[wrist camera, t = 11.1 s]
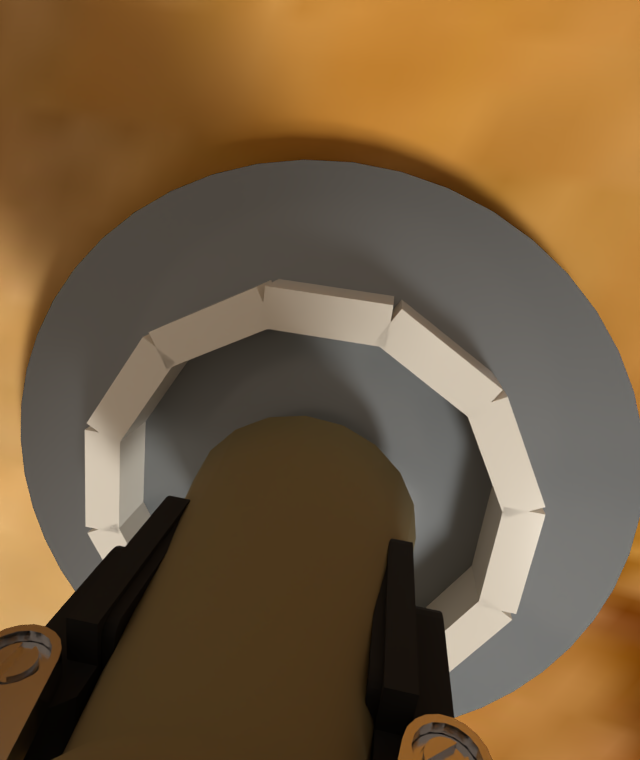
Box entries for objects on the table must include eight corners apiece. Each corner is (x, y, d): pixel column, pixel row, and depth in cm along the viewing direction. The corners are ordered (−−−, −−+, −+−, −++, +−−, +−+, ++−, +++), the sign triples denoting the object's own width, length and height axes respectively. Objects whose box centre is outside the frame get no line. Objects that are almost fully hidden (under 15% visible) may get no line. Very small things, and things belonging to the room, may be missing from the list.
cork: (457, 473, 13) (692, 1506, 3) (361, 650, 15) (276, 1649, 4) (229, 377, 13) (-429, 995, 3) (164, 565, 15) (-366, 1347, 5)
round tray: (726, 213, 13) (800, 211, 10) (537, 757, 18) (558, 837, 16) (30, 125, 15) (-42, 107, 12) (49, 646, 20) (2, 703, 18)
